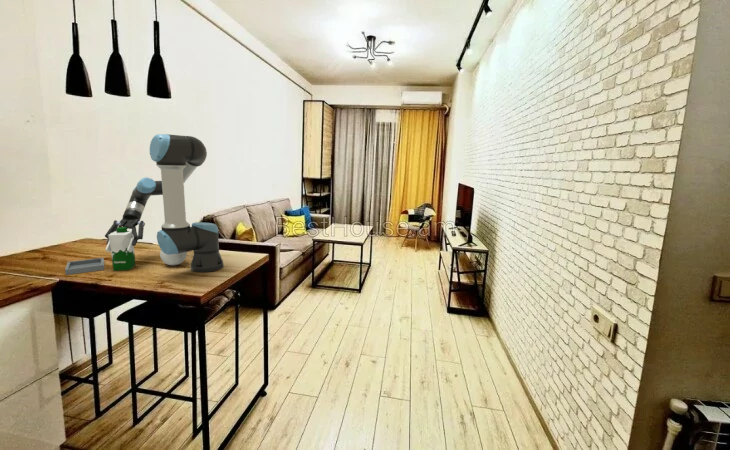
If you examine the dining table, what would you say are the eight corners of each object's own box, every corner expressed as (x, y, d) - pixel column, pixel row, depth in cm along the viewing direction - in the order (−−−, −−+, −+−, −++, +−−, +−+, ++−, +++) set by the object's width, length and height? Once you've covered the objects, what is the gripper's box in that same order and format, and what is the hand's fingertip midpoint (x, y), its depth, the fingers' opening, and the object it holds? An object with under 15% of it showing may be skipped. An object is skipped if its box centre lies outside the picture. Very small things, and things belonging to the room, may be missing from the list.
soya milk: (138, 264, 172) (133, 226, 168) (131, 270, 163) (126, 230, 159) (118, 265, 169) (113, 227, 165) (110, 271, 161) (104, 230, 157)
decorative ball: (171, 270, 166) (169, 246, 164) (155, 266, 171) (153, 243, 169) (192, 263, 177) (191, 241, 175) (177, 260, 182) (175, 238, 179)
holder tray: (104, 269, 163) (103, 264, 163) (65, 274, 155) (64, 269, 154) (104, 262, 174) (103, 257, 173) (68, 266, 166) (67, 261, 165)
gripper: (158, 217, 178) (145, 254, 166) (114, 216, 175) (98, 254, 163) (152, 208, 172) (139, 247, 159) (107, 208, 169) (89, 246, 157)
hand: (118, 250), depth 161 cm, fingers closed on soya milk, 9 cm apart
